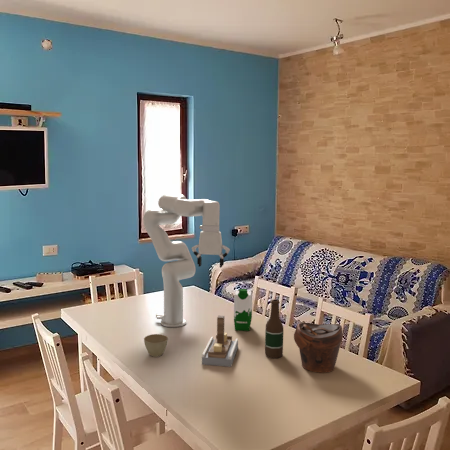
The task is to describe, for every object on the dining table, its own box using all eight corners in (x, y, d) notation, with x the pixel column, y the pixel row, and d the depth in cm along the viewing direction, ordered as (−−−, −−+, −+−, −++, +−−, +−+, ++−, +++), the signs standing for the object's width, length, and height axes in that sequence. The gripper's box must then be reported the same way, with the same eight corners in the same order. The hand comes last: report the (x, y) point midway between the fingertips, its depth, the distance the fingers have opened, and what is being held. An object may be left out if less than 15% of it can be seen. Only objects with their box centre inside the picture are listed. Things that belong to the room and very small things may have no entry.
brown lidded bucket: (284, 361, 199) (286, 319, 197) (324, 354, 207) (327, 314, 205) (307, 380, 183) (310, 335, 181) (350, 372, 191) (354, 328, 188)
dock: (201, 364, 195) (201, 354, 195) (211, 345, 215) (211, 336, 214) (231, 366, 194) (231, 356, 193) (237, 347, 213) (238, 338, 213)
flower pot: (139, 357, 202) (139, 340, 201) (151, 348, 211) (151, 332, 210) (161, 360, 198) (161, 344, 197) (172, 351, 208) (171, 335, 207)
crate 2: (219, 341, 209) (219, 334, 209) (220, 338, 212) (220, 332, 212) (225, 341, 209) (226, 335, 208) (226, 339, 211) (227, 332, 211)
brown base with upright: (225, 358, 194) (225, 324, 192) (207, 357, 195) (208, 323, 193) (231, 341, 213) (232, 310, 211) (216, 339, 214) (216, 309, 212)
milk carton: (232, 331, 234) (233, 290, 231) (234, 324, 243) (235, 285, 240) (251, 331, 233) (252, 291, 230) (252, 325, 242) (252, 286, 239)
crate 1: (213, 353, 196) (213, 346, 196) (214, 350, 199) (214, 343, 199) (220, 353, 196) (220, 346, 195) (222, 350, 199) (222, 343, 198)
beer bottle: (284, 352, 208) (286, 298, 205) (280, 359, 201) (282, 303, 198) (267, 350, 211) (268, 296, 207) (262, 357, 203) (263, 301, 200)
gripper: (189, 229, 213) (189, 267, 215) (228, 230, 210) (228, 269, 212) (193, 226, 220) (193, 263, 222) (231, 228, 217) (230, 265, 220)
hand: (210, 266), depth 217 cm, fingers open, 9 cm apart
